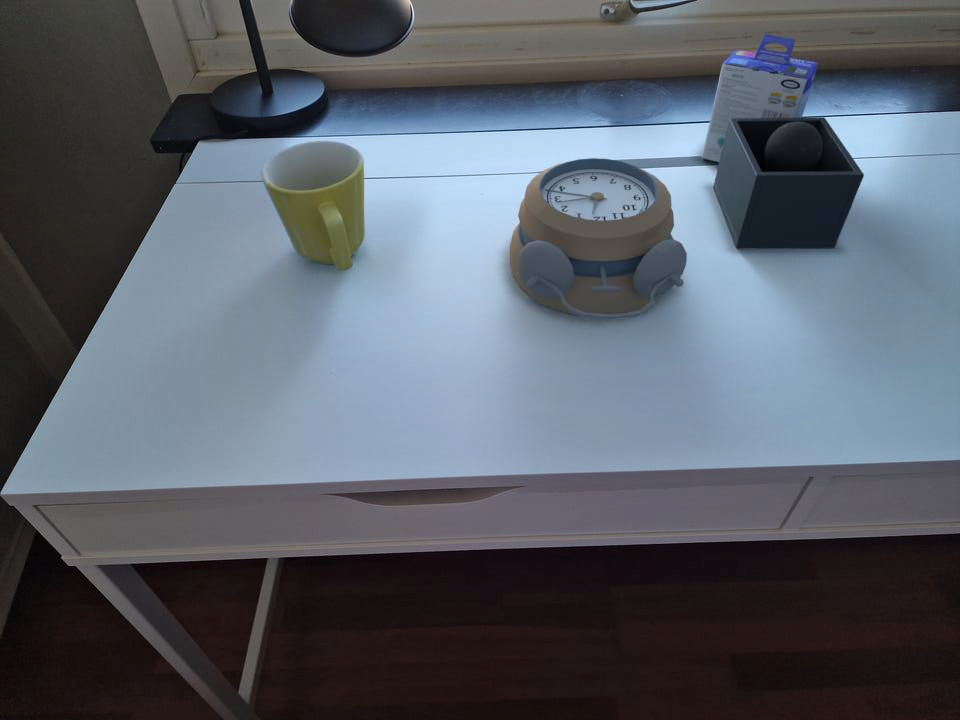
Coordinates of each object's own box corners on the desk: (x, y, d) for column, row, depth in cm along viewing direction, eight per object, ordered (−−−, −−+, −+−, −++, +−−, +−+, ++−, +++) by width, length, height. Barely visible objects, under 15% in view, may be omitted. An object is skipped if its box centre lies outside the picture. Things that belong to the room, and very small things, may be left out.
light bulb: (748, 217, 77) (772, 133, 70) (750, 191, 81) (773, 109, 74) (801, 225, 76) (831, 140, 69) (801, 198, 79) (830, 115, 72)
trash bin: (800, 187, 83) (824, 117, 76) (834, 248, 74) (864, 174, 68) (712, 187, 83) (729, 118, 77) (735, 248, 74) (756, 175, 68)
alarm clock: (671, 143, 72) (721, 280, 56) (658, 218, 79) (699, 360, 62) (509, 145, 73) (511, 282, 57) (509, 219, 79) (510, 361, 63)
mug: (285, 229, 79) (262, 145, 72) (373, 218, 80) (360, 134, 73) (283, 305, 70) (256, 216, 62) (383, 291, 71) (369, 202, 63)
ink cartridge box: (790, 159, 87) (828, 40, 77) (779, 178, 84) (816, 58, 74) (713, 141, 91) (739, 26, 81) (700, 159, 88) (725, 42, 78)
